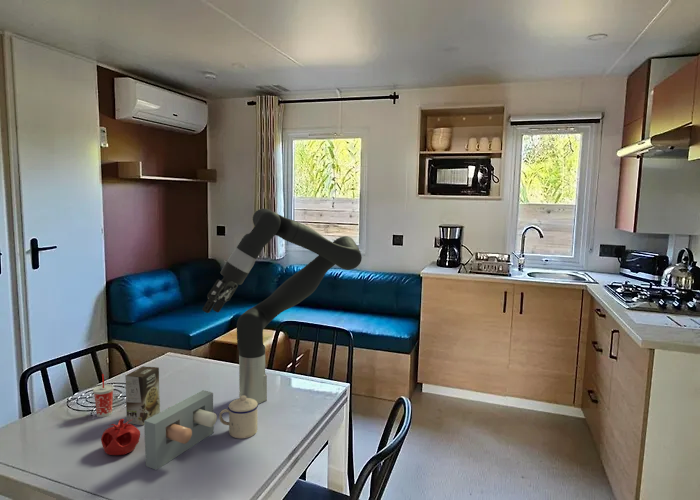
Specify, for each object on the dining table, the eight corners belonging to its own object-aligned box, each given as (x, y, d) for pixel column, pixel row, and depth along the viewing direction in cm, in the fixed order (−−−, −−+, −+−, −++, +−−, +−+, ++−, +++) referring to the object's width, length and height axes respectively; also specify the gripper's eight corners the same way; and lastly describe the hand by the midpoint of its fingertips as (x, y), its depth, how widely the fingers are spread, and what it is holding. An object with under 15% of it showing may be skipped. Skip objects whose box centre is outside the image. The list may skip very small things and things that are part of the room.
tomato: (114, 440, 135) (112, 411, 134) (146, 441, 135) (145, 411, 134) (94, 459, 125) (92, 426, 125) (129, 459, 125) (128, 427, 124)
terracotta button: (162, 440, 125) (161, 426, 124) (173, 433, 128) (173, 420, 128) (181, 446, 122) (180, 432, 121) (192, 439, 125) (191, 425, 125)
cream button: (189, 424, 134) (189, 411, 133) (199, 418, 137) (198, 405, 137) (207, 429, 131) (207, 416, 130) (216, 423, 134) (216, 410, 134)
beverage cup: (90, 415, 150) (88, 375, 148) (107, 408, 155) (105, 369, 154) (101, 420, 147) (99, 378, 146) (118, 412, 152) (117, 372, 151)
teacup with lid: (260, 424, 146) (260, 390, 145) (255, 439, 137) (255, 402, 136) (223, 424, 146) (222, 390, 144) (215, 439, 137) (215, 402, 135)
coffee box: (143, 425, 144) (142, 377, 142) (125, 423, 145) (124, 375, 143) (161, 412, 153) (159, 367, 151) (144, 410, 154) (142, 365, 152)
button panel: (145, 466, 123) (144, 420, 121) (203, 429, 142) (203, 390, 141) (156, 470, 121) (154, 424, 119) (213, 432, 141) (213, 392, 139)
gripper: (241, 270, 132) (212, 318, 130) (254, 273, 146) (228, 317, 145) (220, 257, 132) (190, 305, 131) (235, 261, 147) (208, 304, 145)
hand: (210, 311), depth 138 cm, fingers open, 8 cm apart
